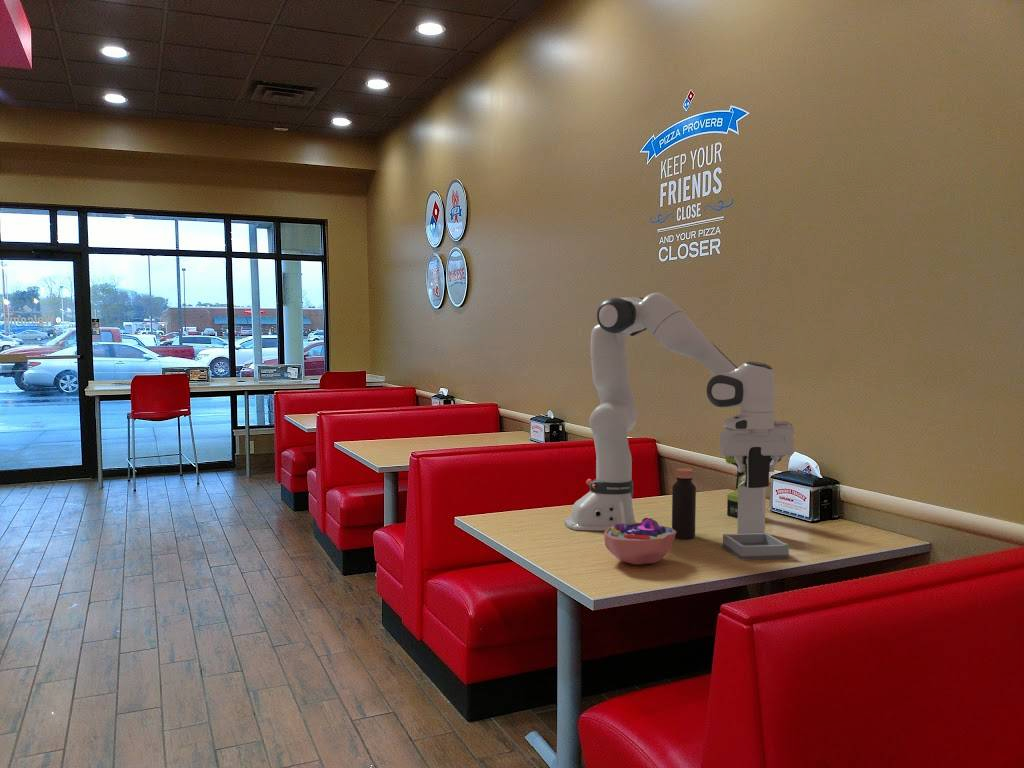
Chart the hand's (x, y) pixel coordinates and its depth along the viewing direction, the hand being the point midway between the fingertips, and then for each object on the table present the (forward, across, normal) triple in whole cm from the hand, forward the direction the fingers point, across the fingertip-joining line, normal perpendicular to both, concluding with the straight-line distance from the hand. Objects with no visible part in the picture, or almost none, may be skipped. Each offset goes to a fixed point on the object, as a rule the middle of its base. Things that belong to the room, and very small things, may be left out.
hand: (756, 471), depth 205 cm
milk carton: (+23, -7, -18) cm, 30 cm away
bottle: (+22, +14, -18) cm, 32 cm away
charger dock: (+22, 0, 0) cm, 22 cm away
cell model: (+23, +34, +5) cm, 41 cm away
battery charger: (+4, 0, 0) cm, 4 cm away
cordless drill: (+22, -16, -35) cm, 45 cm away
